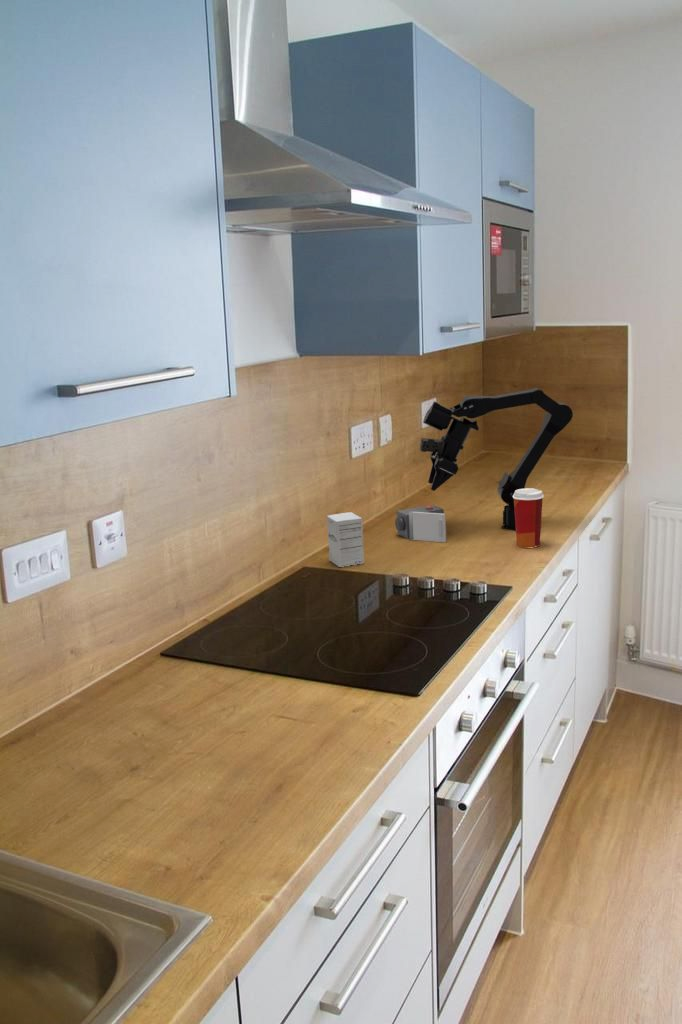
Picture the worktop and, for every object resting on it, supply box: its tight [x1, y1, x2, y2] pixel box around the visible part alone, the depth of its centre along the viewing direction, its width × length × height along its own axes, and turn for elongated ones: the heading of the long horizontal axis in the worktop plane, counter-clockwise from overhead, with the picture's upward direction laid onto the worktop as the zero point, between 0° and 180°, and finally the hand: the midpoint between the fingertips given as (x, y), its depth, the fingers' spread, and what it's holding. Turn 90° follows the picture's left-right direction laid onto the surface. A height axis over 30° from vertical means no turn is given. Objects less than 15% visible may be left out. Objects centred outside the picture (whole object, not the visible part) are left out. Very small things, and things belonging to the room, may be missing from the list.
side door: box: [409, 511, 447, 543], centre depth 249 cm, size 11×2×8 cm, turn 63°
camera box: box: [394, 504, 445, 540], centre depth 256 cm, size 13×6×8 cm, turn 113°
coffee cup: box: [513, 487, 545, 548], centre depth 239 cm, size 8×8×15 cm
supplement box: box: [326, 511, 365, 568], centre depth 233 cm, size 7×7×13 cm
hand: (431, 486), depth 255 cm, fingers open, 9 cm apart
